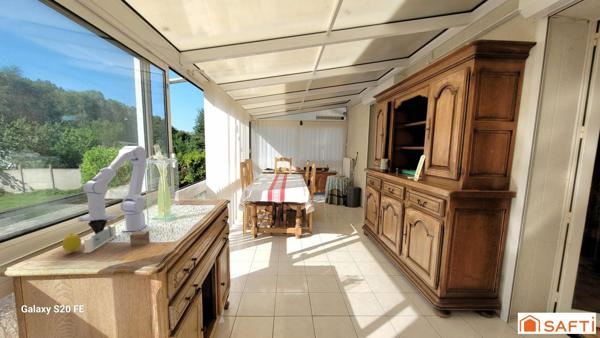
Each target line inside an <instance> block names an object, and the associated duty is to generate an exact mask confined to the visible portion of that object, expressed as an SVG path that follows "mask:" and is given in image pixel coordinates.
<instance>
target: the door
mask: <svg viewBox="0 0 600 338" xmlns="http://www.w3.org/2000/svg"><path fill="white" fill-rule="evenodd" d="M109 237H111V227H110V225H108V226H107V228H104V230H102V231H101V232H99V233H97V234H95V233H94V234H93V235H92V236H90V238H93V245H94V247H95V246H96V245H98V244H100V243H101V242H103V241H104V240H106V239H108V238H109Z"/></svg>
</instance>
